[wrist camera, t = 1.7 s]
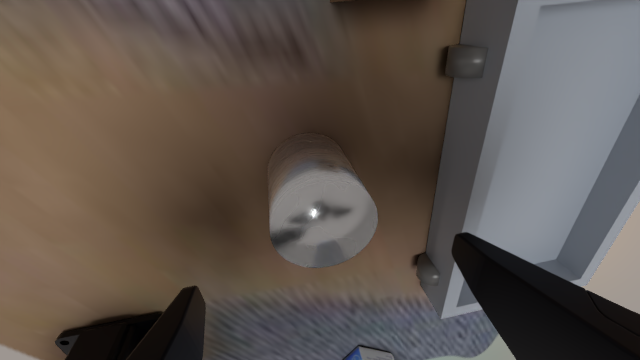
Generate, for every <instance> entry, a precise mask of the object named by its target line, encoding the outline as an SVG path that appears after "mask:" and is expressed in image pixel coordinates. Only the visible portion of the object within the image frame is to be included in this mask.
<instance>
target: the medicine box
mask: <svg viewBox="0 0 640 360" xmlns="http://www.w3.org/2000/svg"><path fill="white" fill-rule="evenodd" d="M344 360H394V358H393V355H392V354H391V353H388V352H384V351H379V350H375V349H370V348H364V347H360V346H358V347H357V348H355V349H354V350H353V351H352V352H351V353H350V354H349V355H348V356H347V357H346V358H345V359H344Z"/></svg>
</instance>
